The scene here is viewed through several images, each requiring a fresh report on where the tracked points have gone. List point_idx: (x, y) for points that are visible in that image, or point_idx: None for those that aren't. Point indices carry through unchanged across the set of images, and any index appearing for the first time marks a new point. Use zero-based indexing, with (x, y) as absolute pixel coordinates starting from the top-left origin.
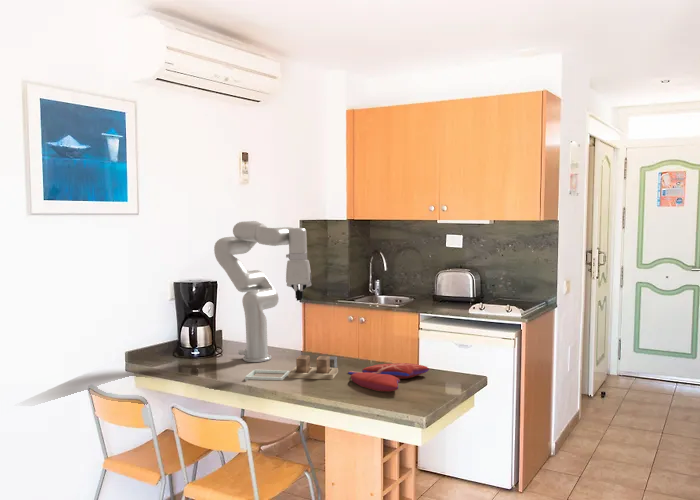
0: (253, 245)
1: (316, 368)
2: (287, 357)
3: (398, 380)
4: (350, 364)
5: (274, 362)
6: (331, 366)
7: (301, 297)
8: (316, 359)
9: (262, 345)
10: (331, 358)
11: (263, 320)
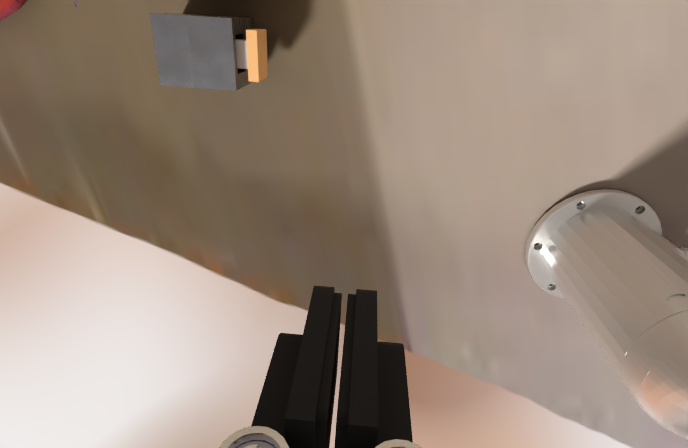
0: None
1: None
2: (454, 270)
3: None
4: (161, 167)
5: (504, 194)
6: (184, 14)
7: (294, 339)
8: (257, 30)
9: (595, 252)
10: (173, 39)
11: (670, 360)
